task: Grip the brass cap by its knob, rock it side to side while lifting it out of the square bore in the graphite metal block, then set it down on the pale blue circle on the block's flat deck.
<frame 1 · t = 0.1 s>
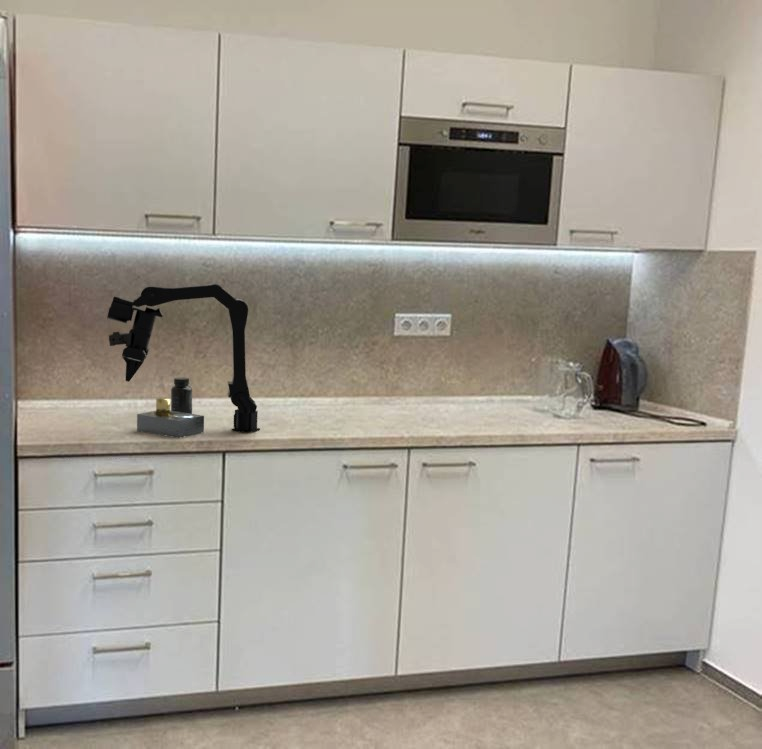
hand: (128, 379, 254), 15 cm above the table, tool pointing down, fingers open, 9 cm apart
supplement bottle: (181, 415, 285), on the table
brass cap: (162, 425, 258), point 2 cm above the table, touching housing
housing: (170, 431, 257), on the table
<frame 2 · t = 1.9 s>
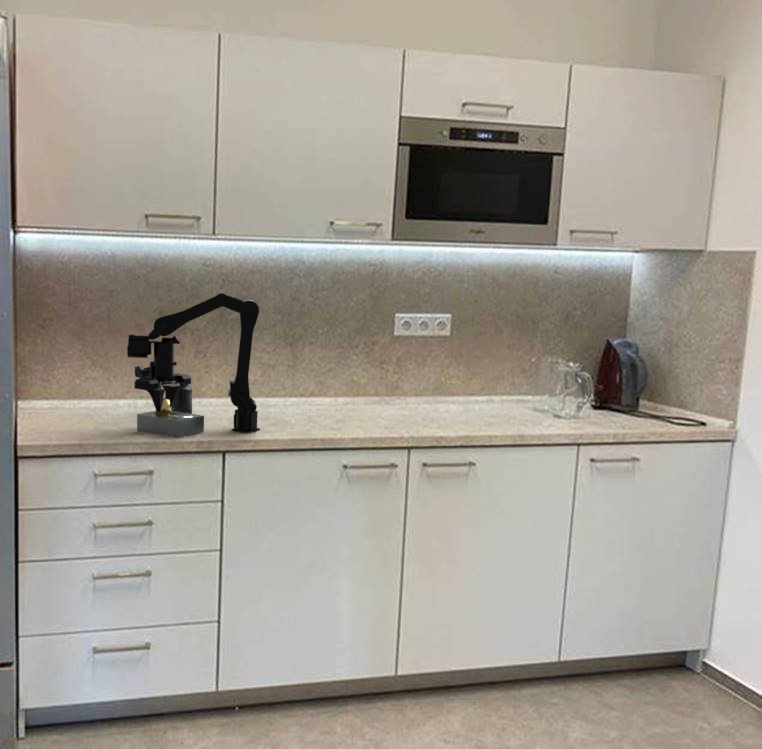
hand: (163, 410, 258), 6 cm above the table, tool pointing down, fingers closed on brass cap, 4 cm apart
brass cap: (162, 425, 258), point 2 cm above the table, touching gripper, housing
everything else where it was.
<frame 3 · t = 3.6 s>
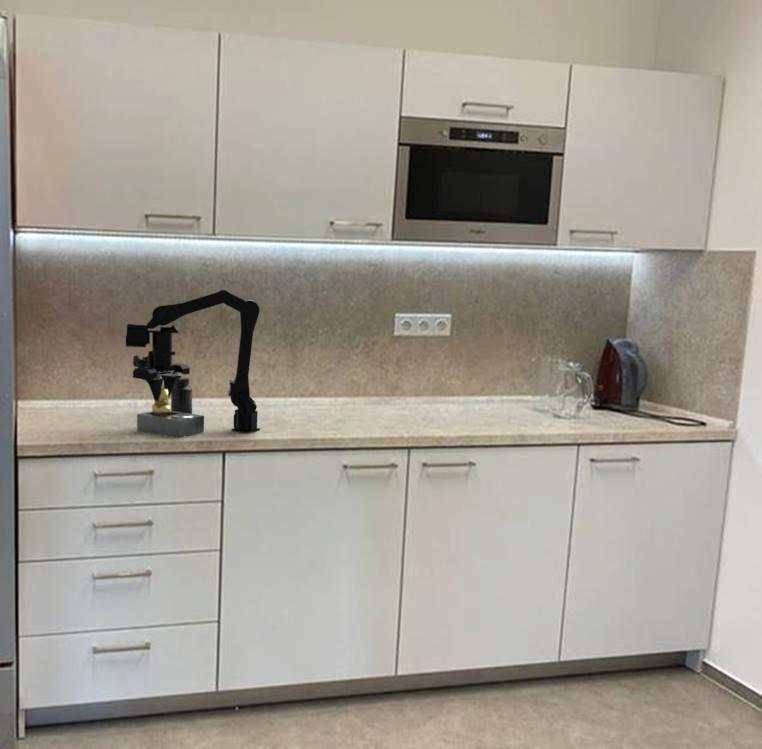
hand: (161, 400, 257), 9 cm above the table, tool pointing down, fingers closed on brass cap, 4 cm apart
brass cap: (161, 415, 258), point 5 cm above the table, touching gripper
everything else where it was.
when the fingers open (11 cm above the table, at t = 5.1 s): brass cap stays where it is, resting on housing.
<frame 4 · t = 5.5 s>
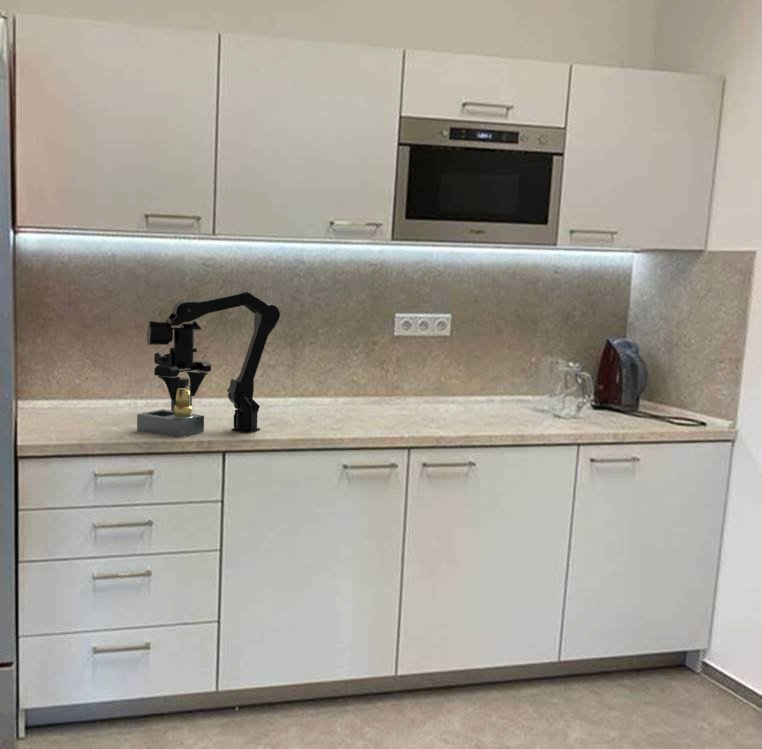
hand: (183, 397, 254), 11 cm above the table, tool pointing down, fingers open, 8 cm apart
brass cap: (182, 416, 254), point 5 cm above the table, touching housing
everything else where it was.
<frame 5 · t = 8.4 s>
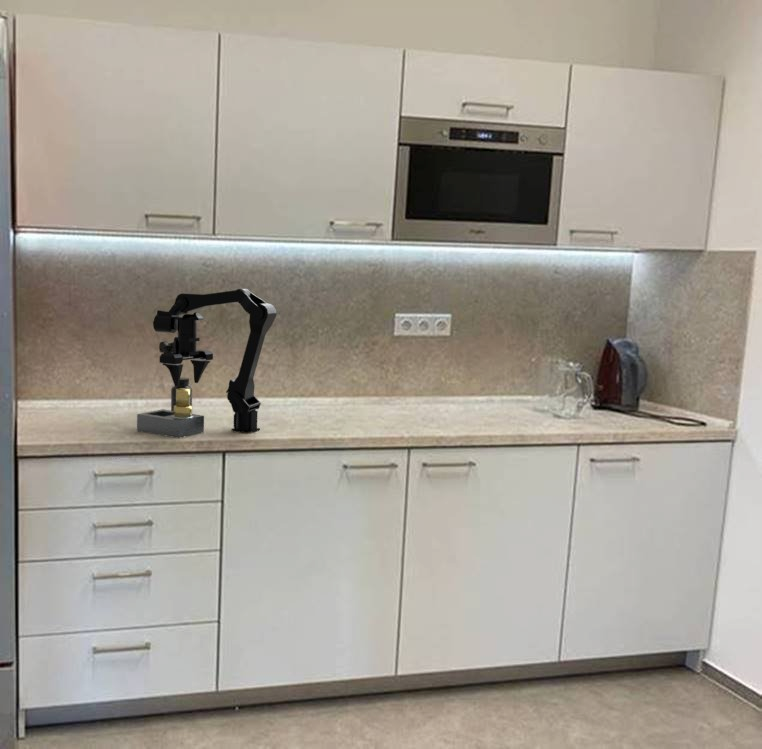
hand: (186, 384, 267), 12 cm above the table, tool pointing down, fingers open, 9 cm apart
nothing on the table moved.
at the end: brass cap 0.1 cm from the target spot on the housing, point 5.2 cm above the housing's base; brass cap tilted 0°; the gripper is holding nothing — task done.
